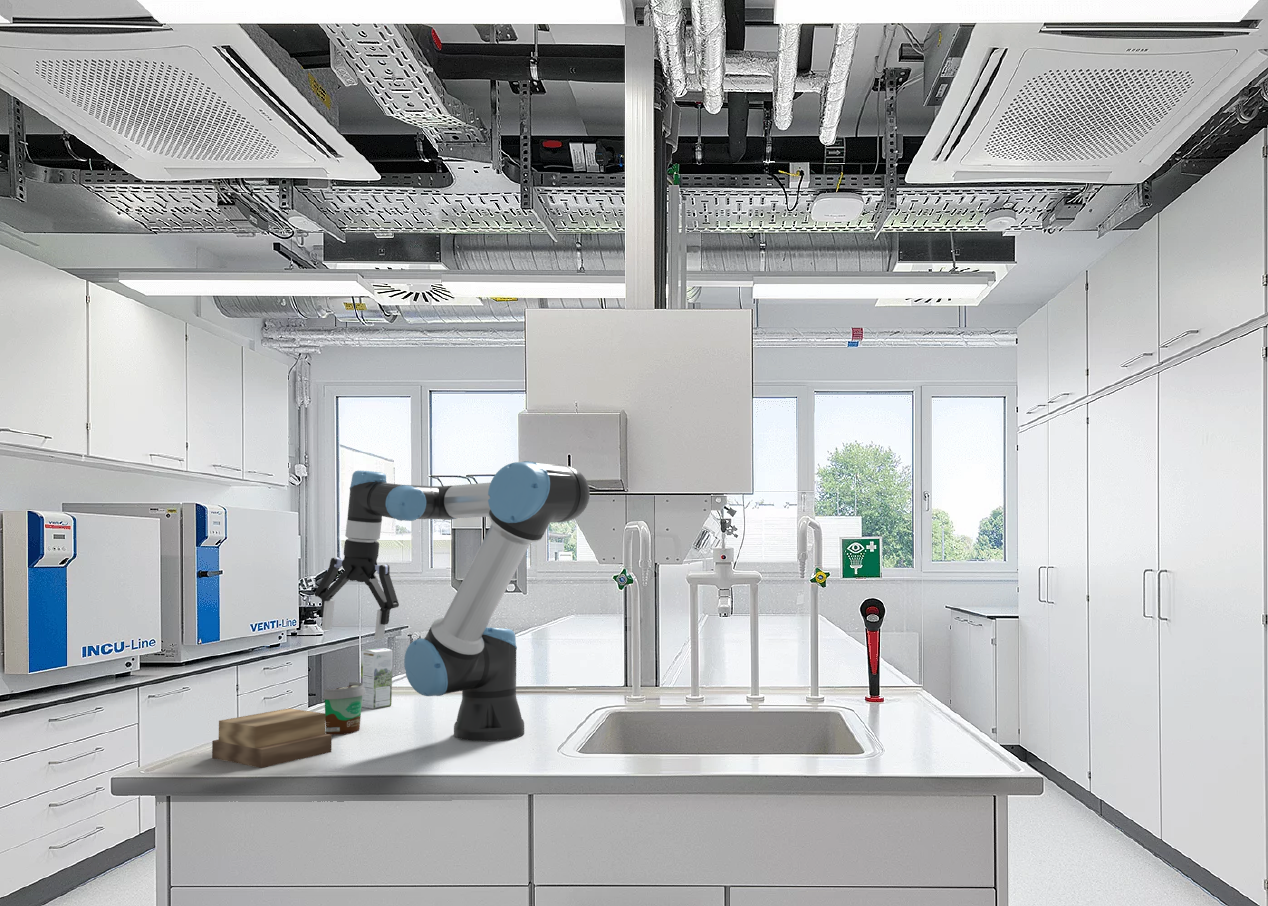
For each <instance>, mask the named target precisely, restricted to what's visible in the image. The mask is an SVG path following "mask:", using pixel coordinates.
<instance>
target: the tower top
mask: <svg viewBox="0 0 1268 906" xmlns="http://www.w3.org/2000/svg"><path fill="white" fill-rule="evenodd" d="M321 734H326V722H325V712H318V711H317V712H316V711H309V710H302V709H297V708H291V707H290V708H284V709H283V708H282V709H277V710H271V711H266V712H265V711H264V712H260V713H256V714H248V715H243V716H237V717H232V718H226V719H221V720H218V740H219V742H224V743H230V744H235V745H240V746H246V747H251V748H259V747H264V746H268V745H273V744H278V743H283V742H288V741H292V740H297V739H302V738H307V737H312V736H316V735H321Z"/></svg>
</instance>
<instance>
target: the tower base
mask: <svg viewBox="0 0 1268 906" xmlns="http://www.w3.org/2000/svg"><path fill="white" fill-rule="evenodd" d="M332 737H333V735H330V734H326V733H325V734H321V735H316V736H312V737H307V738H302V739H297V740H292V741H288V742H283V743H278V744H273V745H268V746H264V747H259V748H251V747H246V746H240V745H235V744H230V743H224V742H219V739H214V740H212V742H211V744H212V745H211V748H212V749H211V750H212V751H211V758H212V759H214V760H219V761H223V762H224V761H225V762H229V763H234V764H240V765H244V766H250V767H255V768H258V769H259V768H260V769H263V768H268V767H273V766H276V765H281V764H285V763H289V762H294V761H299V760H301V759H307V758H312V757H315V756H316V757H317V756H320V755H324V754H328V753H332V741H333V740H332V739H333V738H332ZM298 759H299V760H298Z"/></svg>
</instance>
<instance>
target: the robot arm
mask: <svg viewBox="0 0 1268 906" xmlns="http://www.w3.org/2000/svg"><path fill="white" fill-rule="evenodd" d="M590 492H591V491H590V486H589V483H588V481H587V479H586V477H585V475H583V474H582V473H581V472H580V471H579V470H578V469H576V468H574V467H572V466H570V465H565V464H554V463H553V464H552V463H551V464H550V463H539V462H535V461H529V460H527V461H526V460H525V461H516V462H511V463H508V464H506V465H504V466H502V467H501V468H500V469H498V471H497V472H496V473H495V474H494V475H493V478H492V480H491V481H490V482H480V483H470V484H469V483H467V484H458V485H457V484H456V485H443V486H441V485H440V486H436V485H435V486H433V485H418V484H416V485H414V484H398V483H397V484H396V483H389V482H387V475H386V474H385V472H380V471H379V472H378V471H372V470H370V471H369V470H355V471H354V472H353V473H352V475H351V480H350V487H349V497H348V507H347V518H346V527H345V538H346V539H345V540H344V545H343V546H344V547H343V559H342V558H341V557H340V556H336V557H331V559H330V561H329V566H328V568H327V571H326V572H325V573H324V575H323V577H322V579H321V580H320V583H318V586H317V587H316V590H315V592H314V596H315V597H318V598H319V599H321V604H320V614H321V615H322V623H321V631H324V632H325V631H329V630H332V629H333V618H334V610H335V609H334V608H335V601H336V600H333V599H334V597H335V596H336V594H337V593H338V592H339V591H340V590H341V589H342V588H343V587H344V586H345V584H347V582H348V581H350V582H351V581H352V582H354V581H355V582H357V583H364V584H365V585H366V586H367V587H368V589H369V590H370V593H371V594H372V595H373V598H374V599H375V600H376V602H377V604H378V606H379V608H380V609H377V611H376V621H375V629H374V630H375V631H374V639H373V640H377V641H378V640H382V639H385V631H386V625H388V624H389V623H390V613H391V610H393V609H396V608H399V606H400V603H399V599H398V597H397V595H396V591H395V587H394V585H393V581H392V579H391V575H390V572H391V571H390V564H388V563H386V564H382V565H381V564H378V558H379V550H380V549H379V548H380V543H379V541H378V540H379V539H380V538H381V531H382V522H383V517H385V518H389V519H395V520H397V521H400V522H401V521H403V522H404V521H405V522H406V521H407V522H413V521H416V520H443V521H445V520H447V521H450V520H451V521H452V520H457V519H467V518H487V517H489V519H490V522H491V524H490V527H489V529H488V530H487V532H486V534H485V536H484V538H483V540H482V542H481V544H480V546H479V547H478V550H477V552H476V554H475V555H474V558H473V560H472V562H471V563H470V565H469V567H468V569H467V571H466V573H465V576H464V577H463V579H462V581H461V583H460V585H459V587H458V588H457V592H456V593H455V595H454V597H453V599H452V600H451V603H450V605H449V607H448V609H447V610H446V613H445V615H444V617H441V618H437V619H435V620H434V621H433V622H432V624H431V626H430V627H429V630H428V631H427V633H426V635H425V636H424V637H423V638H422V637H421V638H420V637H419V638H416V639H415V640H413V641H412V642H411V643H409V645H408V646H407V648H406V650H405V653H404V659H403V661H404V663H403V665H404V669H405V670H404V671H405V675H406V679H407V681H408V683H409V684H410V686H411V688H412V689H413V690H414V691H415V692H416V693H418V694H420V695H421V696H424V697H441V696H443V695H448V694H452V693H458V692H462V693H461V702H460V706H459V709H458V712H457V718H456V720H455V722H454V725H453V737H454V738H456V739H457V740H458V739H459V740H461V741H462V740H463V741H471V742H472V741H473V742H491V741H492V742H493V741H502V740H511V739H514V738H518V737H521V736H523V735H525V721H524V719H523V717H522V714H521V709H520V706H519V702H518V699H517V648H518V647H517V641H516V633H515V632H514V630H513V629H511V628H503V627H502V628H501V627H488V624H489V623H490V621H491V619H492V617H493V616H494V613H495V611H496V610H497V608H498V606H499V604H500V602H501V601H502V598H503V597H504V594H505V592H506V591H507V588H508V586H509V585H510V583H511V581H512V579H513V577H514V575H515V573H516V572H517V570H518V568H519V566H520V564H521V562H522V560H523V558H524V556H525V554H526V553H527V551H528V549H529V546H530V545H531V544H533V543H536V542H539V541H541V540H542V538H543V537H544V535H545V533H546V532H547V529H548V527H549V525H550V523H565V522H570V521H572V520H574V519H576V518H578V517H579V516H580V515H581V514H583V513H584V511H585V510H586V509H587V506H588V504H589V503H590V501H589V500H590V494H591V493H590ZM340 568H342V569H343V571H342V573H340V574H339V576H338V578H337V579H336V580H335V577H336V576H337V574H338V572H339V571H340ZM376 572H377V575H378V576H379V580H378V577H377V575H376V574H375V573H376ZM334 580H335V581H334ZM379 581H380V583H379Z"/></svg>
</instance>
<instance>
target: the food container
mask: <svg viewBox="0 0 1268 906" xmlns="http://www.w3.org/2000/svg"><path fill="white" fill-rule="evenodd" d="M364 694H365V688H364V686H363V684H362V683H361V682H358V681H349V682H348V685H347V686H345V687H337V688H334V689H331V688H328V689H326V688H325V689H324V692H323V695H322V696H323V697H322V699H323V700H324V713H325V734H330V735H332V736H340V735H341V736H342V735H348V734H354V733H357V732H359V731H360V728H361V727H360V725H361V719H362V718H361V717H362V715H361V714H362V707H361V706H362V695H364Z"/></svg>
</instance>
